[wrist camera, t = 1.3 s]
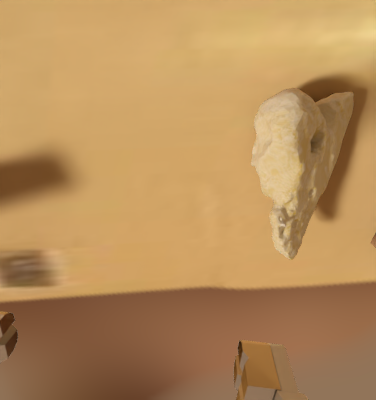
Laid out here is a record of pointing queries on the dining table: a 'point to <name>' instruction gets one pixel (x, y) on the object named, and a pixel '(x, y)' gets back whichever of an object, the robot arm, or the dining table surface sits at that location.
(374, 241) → the walnut board
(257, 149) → the beige rough lump
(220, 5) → the dining table surface
